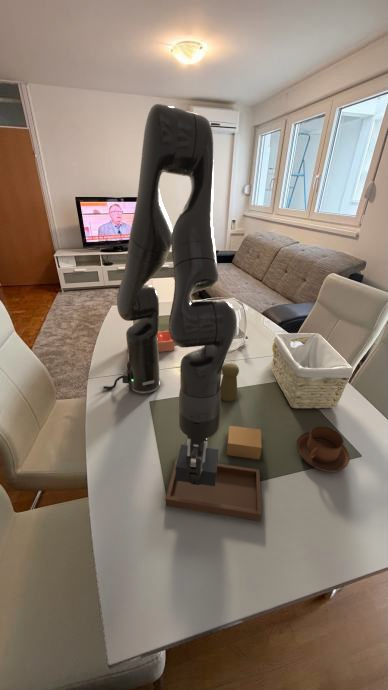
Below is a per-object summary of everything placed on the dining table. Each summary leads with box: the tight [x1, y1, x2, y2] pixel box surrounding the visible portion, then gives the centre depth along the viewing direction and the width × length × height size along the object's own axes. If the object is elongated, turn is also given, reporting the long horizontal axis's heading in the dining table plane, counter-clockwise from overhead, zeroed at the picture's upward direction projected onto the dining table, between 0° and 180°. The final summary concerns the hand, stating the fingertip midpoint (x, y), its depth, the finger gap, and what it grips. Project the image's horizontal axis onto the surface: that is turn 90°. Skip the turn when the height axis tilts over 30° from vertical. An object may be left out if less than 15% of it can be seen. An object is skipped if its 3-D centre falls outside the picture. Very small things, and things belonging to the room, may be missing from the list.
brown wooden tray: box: [165, 457, 262, 522], centre depth 64 cm, size 19×11×2 cm, turn 81°
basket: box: [271, 332, 354, 409], centre depth 95 cm, size 24×16×15 cm
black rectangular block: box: [176, 443, 220, 486], centre depth 62 cm, size 8×6×4 cm
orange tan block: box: [226, 425, 263, 461], centre depth 74 cm, size 8×6×4 cm
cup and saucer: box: [296, 425, 350, 472], centre depth 72 cm, size 12×12×6 cm
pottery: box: [158, 330, 175, 353], centre depth 119 cm, size 18×10×10 cm, turn 104°
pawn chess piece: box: [220, 362, 240, 402], centre depth 91 cm, size 6×6×11 cm
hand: (197, 469), depth 62 cm, fingers closed on black rectangular block, 6 cm apart
